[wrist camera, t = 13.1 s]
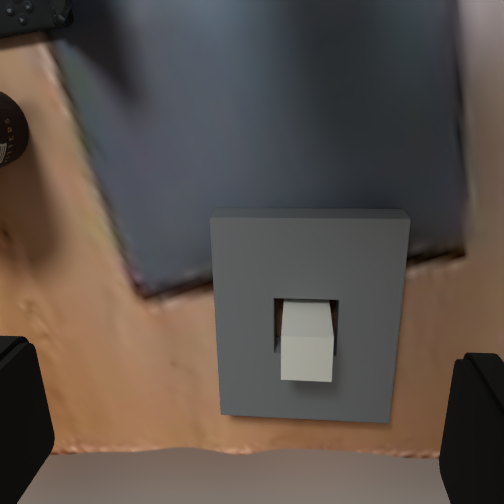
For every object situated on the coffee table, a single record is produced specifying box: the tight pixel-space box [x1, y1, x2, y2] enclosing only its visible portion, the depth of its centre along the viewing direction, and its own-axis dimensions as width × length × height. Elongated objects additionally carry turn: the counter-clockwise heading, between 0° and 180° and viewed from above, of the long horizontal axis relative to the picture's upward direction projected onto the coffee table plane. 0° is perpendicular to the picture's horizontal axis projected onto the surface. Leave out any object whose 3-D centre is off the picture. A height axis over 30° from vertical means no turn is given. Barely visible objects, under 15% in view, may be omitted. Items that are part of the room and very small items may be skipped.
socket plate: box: [210, 208, 411, 423], centre depth 42 cm, size 20×16×3 cm
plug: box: [281, 298, 334, 382], centre depth 39 cm, size 4×4×8 cm
